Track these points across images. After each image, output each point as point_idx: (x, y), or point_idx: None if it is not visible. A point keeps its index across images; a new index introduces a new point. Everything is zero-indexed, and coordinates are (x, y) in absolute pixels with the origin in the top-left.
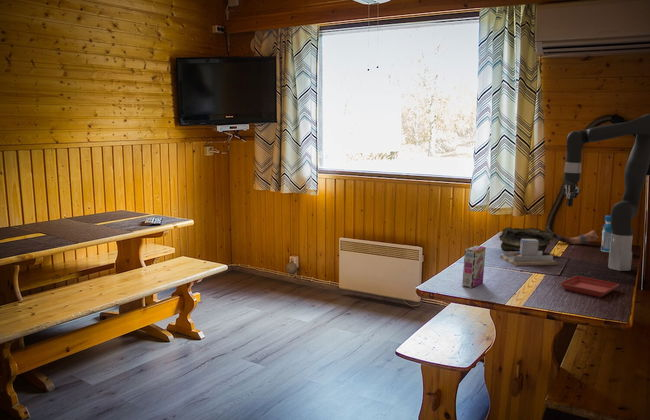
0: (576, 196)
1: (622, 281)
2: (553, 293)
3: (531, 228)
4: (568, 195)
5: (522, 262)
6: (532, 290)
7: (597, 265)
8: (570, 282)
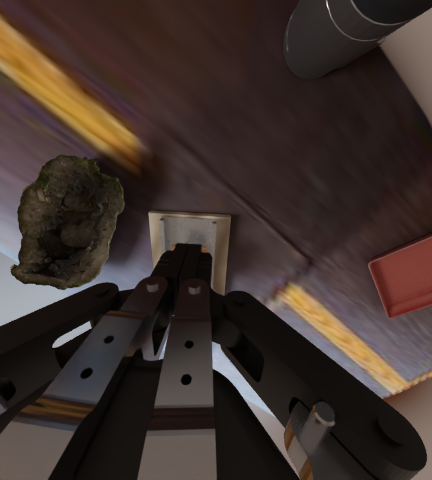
0: (268, 315)
1: (416, 150)
2: (393, 329)
3: (18, 212)
4: (162, 341)
5: (223, 292)
6: (365, 346)
7: (261, 93)
8: (378, 287)
